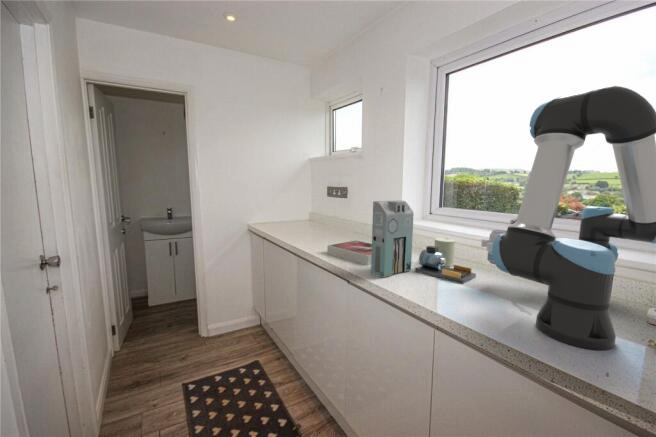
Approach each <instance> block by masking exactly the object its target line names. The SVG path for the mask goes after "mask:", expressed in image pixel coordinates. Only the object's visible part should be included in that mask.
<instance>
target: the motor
mask: <svg viewBox="0 0 656 437" xmlns="http://www.w3.org/2000/svg"><path fill="white" fill-rule="evenodd" d="M425 247H426V248H425V249H423V250H422V251H421V252H420V254H419V257H418V258H419V259H418V261H419V264H420V266H418V267H415V269H414V270H415V273H420V274H424V275H426V276H427V275H428V276H432V277H435V278H439V279H442V280H443V279H444V280H447V281H451V282H455V283H457V284H461V285H464V284H465V283H468V282H469V281H471V280H473V279H475V278H476V276H477V274H476V273H475V272H472V271H473V267H468V266H465V265H464V266H463V265H459V264H454V266H453V267H450V266H444V265H445V264H446V259H445V256H444V254H443V253H438V252H439V247H435V245H428V246H425Z"/></svg>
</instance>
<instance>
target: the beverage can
mask: <svg viewBox="0 0 656 437" xmlns="http://www.w3.org/2000/svg"><path fill="white" fill-rule="evenodd" d="M506 232H507V230H500V229H492V230H491V233H490V234H489V239H488V240H489V243H494V240H495V239H496V238H498V236H499V235H500V234H504V233H506ZM486 258H487V261H488V262H490V264H493V265H495V263H494V260H493V257H492V251H487V257H486Z"/></svg>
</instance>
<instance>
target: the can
mask: <svg viewBox="0 0 656 437" xmlns="http://www.w3.org/2000/svg"><path fill="white" fill-rule="evenodd" d="M434 247H439V252H438V253H443V254H444V256H445V259H446V264H445V265H444V266H445V267H454V265H455V255H456V254H455V252H456V251H455V250H456V239H453V238H448V237H436V238H434Z"/></svg>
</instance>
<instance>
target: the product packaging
mask: <svg viewBox="0 0 656 437" xmlns="http://www.w3.org/2000/svg"><path fill="white" fill-rule="evenodd" d="M326 246H327V250H326V251H327V252H326V253H327V255H330V256H335V257H336V258H337V257H338V258H341V259H345V260H348V261H351V262H354V263H358V264H360V265H361V264H362V265H365V266H371V256H372V242H366V241H361V240H355V239H354V240H349V241H344V242H337V243H333V244H332V243H331V244H327V245H326Z"/></svg>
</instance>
